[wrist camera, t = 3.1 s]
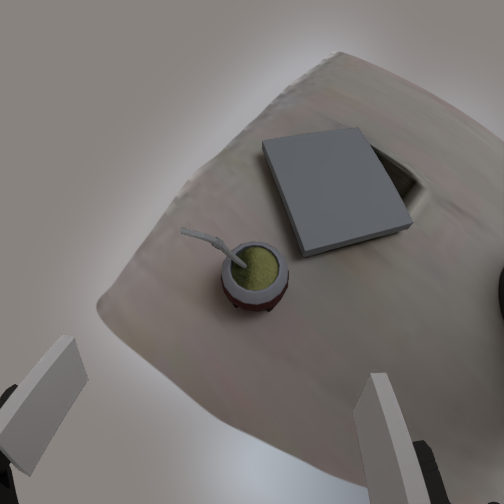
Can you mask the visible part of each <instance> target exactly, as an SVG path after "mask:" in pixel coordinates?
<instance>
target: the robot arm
mask: <svg viewBox="0 0 504 504" xmlns="http://www.w3.org/2000/svg"><path fill="white" fill-rule="evenodd" d="M499 297H500V305H501V310H502V314H503V318H504V269H503V271H502V274H501V278H500V285H499ZM87 381H88V377H87V374H86V371H85V368H84V366H83V363H82V360H81V357H80V354H79V351H78V348H77V344H76V341H75V338H74V337H70V336H67V335H63V334H62V335H61V336H60V337H59V339H58V340H57V341H56V342H55V343H54V344H53V345H52V346H51V348H50V349H49V350H48V351H47V352H46V353H45V354H44V356H43V357H42V358H41V359H40V360H39V362H38V363H37V364H36V365H35V366H34V367H33V369H32V370H31V371H30V372H29V374H28V375H27V376H26V377H25V378H24V379H23V381H22V382H21V383H20V384H19V386H18V385H16V384H14V385H13V386H11V387H10V388H8V389H6V391H5V392H4V393H3V394H2V396H1V397H0V504H19V503H18V499H17V495H16V490H15V486H14V481H13V476H12V471H11V468H10V466H9V464H10V463H12V464H13V465H14V466H15V467H16V468H17V469H18V470H20V471H21V472H23V473H25V474H26V475H28V476H31V474H32V473H33V471H34V469H35V467H36V465H37V463H38V462H39V460H40V457H41V456H42V455H43V453H44V451H45V449H46V447H47V446H48V444H49V442H50V441H51V439H52V437H53V436H54V434H55V432H56V431H57V429H58V427H59V425H60V424H61V422H62V421H63V419H64V417H65V416H66V414H67V412H68V411H69V409H70V408H71V406H72V404H73V403H74V401H75V399H76V398H77V396H78V395H79V393H80V392H81V390H82V389H83V387H84V386H85V384H86V382H87ZM353 418H354V422H355V427H356V431H357V436H358V441H359V446H360V450H361V455H362V461H363V466H364V471H365V476H366V482H367V487H368V493H369V498H370V504H451V503H450V502H449V500H448V497H447V494H446V491H445V487H444V484H443V481H442V478H441V475H440V472H439V470H438V466H437V463H436V462H435V458H434V455H433V452H432V449H431V448H430V447H429V446H428V445H427V444H426V442H425V441H424V440H422V441H416V442H412V441H411V438H410V435H409V432H408V429H407V426H406V423H405V421H404V418H403V415H402V412H401V410H400V407H399V404H398V402H397V399H396V396H395V394H394V391H393V388H392V386H391V383H390V381H389V378H388V376H387V373H370V375H369V378H368V380H367V382H366V385H365V387H364V389H363V391H362V394H361V396H360V398H359V400H358V403H357V405H356V407H355V409H354V411H353ZM488 504H499V503H497V502H490V503H488Z"/></svg>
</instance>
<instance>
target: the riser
mask: <svg viewBox="0 0 504 504" xmlns="http://www.w3.org/2000/svg"><path fill="white" fill-rule="evenodd" d="M262 150H263V152H264V155H265V157H266V160H267V162H268V165H269V167H270V170H271V172H272V175H273V178H274V180H275V183H276V185H277V188H278V191H279V193H280V196H281V198H282V201H283V204H284V206H285V209H286V212H287V214H288V217H289V220H290V223H291V225H292V228H293V231H294V233H295V236H296V239H297V242H298V245H299V247H300V250H301V253H302V256H303V257H308V256H312V255H316V254H320V253H323V252H324V251H328V250H332V249H335V248H339V247H343V246H347V245H350V244H354V243H358V242H362V241H365V240H369V239H373V238H376V237H380V236H387V235H390V234H394V233H397V232H398V231H402V230H405V229H408V228H409V227H410V226H411V225H412V224H413V223H414V222H413V220H412V218H411V216H410V215H409V213H408V211H407V209H406V207H405V205H404V203H403V201H402V199H401V197H400V195H399V194H398V192H397V190H396V188H395V186H394V185H393V183H392V181H391V179H390V178H389V176H388V174H387V172H386V171H385V169H384V167H383V166H382V164H381V162H380V161H379V159H378V157H377V156H376V154H375V153H374V151H373V149H372V148H371V146H370V145H369V143H368V142H367V140H366V139H365V137H364V135H363V134H362V132H361V131H360V129H359V128H349V129H340V130H331V131H323V132H315V133H307V134H300V135H294V136H287V137H281V138H275V139H269V140H263V141H262Z"/></svg>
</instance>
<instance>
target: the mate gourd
mask: <svg viewBox="0 0 504 504" xmlns="http://www.w3.org/2000/svg"><path fill="white" fill-rule="evenodd" d="M181 234H184V235H188V236H192V237H195V238H198V239H202V240H205V241H207V242H210V243H211V244H212V246H214V247H215V248H217V249H219V250H221V251H222V252H223V253H225V254H226V255H227V257H226V259H225V260H224V262H223V267H222V273H221V281H222V286H223V290H224V293H225V294H226V296H227V298H228V299H229V301H230V302H231V303H233V305H234V307H236V308H238V307H240V308H242V309H244V310H250V311H261V310H265V309H266V310H267V311H268V312H270V311H271V310H272V309H273V308H274V307H275V306H276V304H277V303H278V302H279V301H280V300H281V298H282V297H283V295H284V293H285V291H286V289H287V288H288V278H289V271H288V268H287V265H286V262H285V259H284V257H283V256H282V255H281V254H280V253H279V251H278V250H277V249H276V248H274V247H272V246H270V245H268V244H266V243H262V242H253V241H252V242H248V243H244V244H240V245H239V246H238V247H236V248H235V249H233V250H232V251H231V250H230V249H228V248H227V247H226V246H225V244H224V242H223V241H222V240H220V239H219V238H218V237H213V236H210V235H207V234H205V233H201V232H197V231H193V230H189V229H186V228H182V227H181Z"/></svg>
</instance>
